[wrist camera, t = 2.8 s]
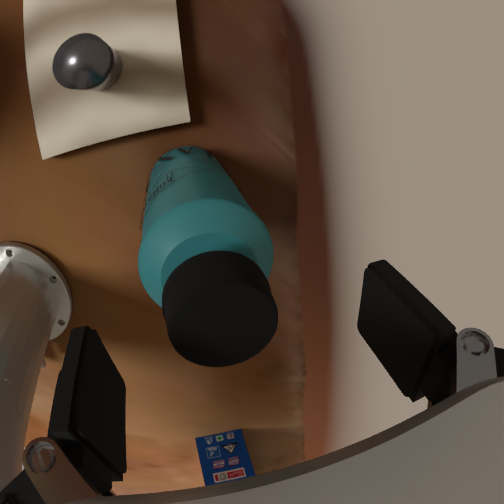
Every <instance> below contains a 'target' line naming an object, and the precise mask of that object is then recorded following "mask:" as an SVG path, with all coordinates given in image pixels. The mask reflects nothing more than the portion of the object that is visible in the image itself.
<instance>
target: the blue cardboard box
mask: <svg viewBox="0 0 504 504" xmlns="http://www.w3.org/2000/svg"><path fill="white" fill-rule="evenodd" d="M195 439H196V444H197V449H198V454H199V459H200V463H201V468H202V473H203V477H204V482H205V486H209V485H215V484H220V483H225V482H230V481H235V480H239V479H244V478H248V477H252V476H256V475H255V472H254V469H253V466H252V463H251V460H250V457H249V454H248V450H247V447H246V444H245V441H244V438H243V434H242V431H241V429H237V430H233V431H229V432H224V433H219V434H214V435H209V436H204V437H199V438H195Z"/></svg>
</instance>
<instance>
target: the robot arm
mask: <svg viewBox="0 0 504 504" xmlns="http://www.w3.org/2000/svg"><path fill="white" fill-rule="evenodd" d="M71 313H72V297H71V292H70V289H69V286H68V283H67V282H66V280H65V278H64V276H63V274H62V273H61V272H60V270H59V269H58V268H57V266H56V265H55V264H54V263H53V262H52V261H51V260H50V259H49V258H48V257H47V256H45V255H44V254H42V253H41V252H40V251H38V250H36V249H34V248H32V247H30V246H28V245H25V244H22V243H18V242H3V243H0V504H504V349H502V348H497V347H494V345H493V342H492V340H491V338H490V337H489V336H488V335H487V334H486V333H485V332H483V331H482V330H479V329H476V328H466V329H463V330H462V331H460V332H459V334H457V333H456V331H455V329H456V328H455V326H454V325H453V324H452V323H451V322H450V321H449V320H448V319H447V318H446V317H445V316H444V315H443V314H442V313H441V312H440V311H439V310H438V309H437V308H436V307H435V306H434V305H433V304H432V303H431V302H430V301H429V300H428V299H427V298H425V296H424V295H423V294H421V293H420V292H419V291H418V290H417V289H416V288H415V287H414V286H413V285H412V284H411V283H410V282H409V281H408V280H407V279H406V278H405V277H403V276H402V275H401V274H400V273H399V272H398V271H397V270H396V269H395V268H394V267H393V266H392V265H390V264H389V263H388V262H387V261H386V260H380V261H376V262H372V263H370V264H369V265H368V268H366V269H365V271H364V279H363V287H362V295H361V302H360V309H359V316H358V323H357V327H358V330H359V333H360V334H361V336H362V337H363V338H364V340H365V341H366V343H367V344H368V345H369V347H370V348H371V349H372V351H373V352H374V354H375V355H376V356H377V358H378V359H379V361H380V362H381V363H382V365H383V366H384V368H385V369H386V370H387V372H388V373H389V375H390V376H391V378H392V379H393V380H394V382H395V383H396V385H397V386H398V388H399V389H400V390H401V392H402V393H403V395H404V396H406V397H409V398H410V399H411V400H412V402H415V401H417V400H419V399H421V398H422V397H424V396H426V398H427V399H428V407H427V409H426V410H425V411H423V412H421V413H419V414H417V415H415V416H413V417H411V418H409V419H407V420H405V421H403V422H401V423H399V424H397V425H395V426H393V427H391V428H389V429H387V430H385V431H382V432H380V433H378V434H376V435H373V436H372V437H369V438H367V439H364V440H362V441H359V442H357V443H355V444H352V445H350V446H347V447H345V448H342V449H339V450H337V451H334V452H331V453H329V454H326V455H323V456H321V457H317V458H315V459H312V460H309V461H306V462H302V463H299V464H296V465H293V466H290V467H286V468H283V469H279V470H276V471H272V472H268V473H264V474H260V475H256V476H252V477H248V478H244V479H239V480H235V481H230V482H225V483H220V484H215V485H209V486H203V487H197V488H190V489H183V490H175V491H166V492H158V493H147V494H135V495H119V496H117V495H116V494H115V493H114V492H113V491H112V490H111V489H112V481H123V473H126V470H127V464H126V432H125V403H126V387H125V383H124V380H123V378H122V377H121V375H120V373H119V372H118V370H117V368H116V367H115V365H114V363H113V361H112V359H111V358H110V356H109V354H108V352H107V350H106V349H105V347H104V345H103V343H102V341H101V339H100V337H99V335H98V333H97V332H96V330H95V329H93V330H91V328H90V327H89V326H84V327H78V328H73V329H72V331H71V334H70V338H69V341H68V345H67V349H66V353H65V358H64V362H63V366H62V370H61V371H60V372H59V375H58V379H57V384H56V389H55V394H54V399H53V405H52V410H51V416H50V422H49V429H48V436H47V437H40V438H36V439H34V440H32V441H31V442H30V443H29V444H28V445H27V446H26V448H25V450H24V445H25V439H26V433H27V428H28V423H29V417H30V412H31V407H32V403H33V398H34V394H35V389H36V385H37V381H38V377H39V373H40V369H41V368H44V367H45V366H46V362H45V359H44V355H45V352H46V348H47V345H48V341H50V340H52V339H54V338H57V337H58V336H59V335H60V334H62V333H63V331H64V330H65V329H66V327H67V325H68V323H69V320H70V317H71ZM22 462H23V466H24V468H25V469H24V470H23V471H22Z"/></svg>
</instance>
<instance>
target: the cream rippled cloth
mask: <svg viewBox="0 0 504 504" xmlns="http://www.w3.org/2000/svg"><path fill="white" fill-rule="evenodd" d="M23 16H24V42H25V55H26V66H27V75H28V83H29V91H30V98H31V104H32V110H33V116H34V121H35V127H36V132H37V137H38V141H39V146H40V150H41V155H42V159H43V160H44V159H47V158H50V157H53V156H56V155H59V154H62V153H65V152H68V151H71V150H75V149H78V148H81V147H85V146H88V145H92V144H95V143H99V142H102V141H106V140H110V139H114V138H118V137H121V136H125V135H130V134H134V133H138V132H142V131H147V130H151V129H156V128H161V127H166V126H171V125H176V124H181V123H186V122H190V115H189V107H188V100H187V93H186V85H185V77H184V69H183V61H182V53H181V44H180V36H179V27H178V17H177V7H176V0H23ZM80 33H91V34H95V35H97V36H98V37H100V38H101V39H102V40H103V41H104V42H106V43H107V44H108V45H109V46H110V47H111V48H112V49H113V50H115V51H116V52H117V53H118V54H119V56H120V57H121V59H122V63H123V69H122V73H121V76H120V78H119V79H118V80H117V82H116V83H115V84H114V85H112V86H111V87H109V88H107V89H105V90H101V91H94V90H77V89H68V88H65V87H63V86H62V85H60V84H59V83H58V82H57V80H56V79H55V77H54V74H53V70H52V64H53V59H54V56H55V54H56V51H57V50H58V48H59V47H60V46H61V45H62V43H63V42H65V41H66V40H67V39H69V38H70V37H72V36H74V35H77V34H80Z"/></svg>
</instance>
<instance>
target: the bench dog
mask: <svg viewBox="0 0 504 504" xmlns="http://www.w3.org/2000/svg"><path fill="white" fill-rule="evenodd" d="M122 69H123V63H122V59H121V57H120V56H119V54H118V53H117V52H116V51H115V50H113V49H112V48H111V47H110V46H109V45H108V44H107V43H106V42H104V41H103V40H102V39H101V38H100V37H98V36H97V35H95V34H91V33H80V34H77V35H74V36H72V37H70V38H69V39H67V40H66V41H65V42H63V43H62V45H61V46H60V47H59V48H58V50H57V51H56V54H55V56H54V59H53V64H52V70H53V74H54V77H55V79H56V80H57V82H58V83H59V84H60V85H62V86H63V87H65V88H68V89H77V90H94V91H101V90H105V89H107V88H109V87H111V86H112V85H114V84H115V83H116V82H117V80H118V79H119V78H120V76H121V73H122Z"/></svg>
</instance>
